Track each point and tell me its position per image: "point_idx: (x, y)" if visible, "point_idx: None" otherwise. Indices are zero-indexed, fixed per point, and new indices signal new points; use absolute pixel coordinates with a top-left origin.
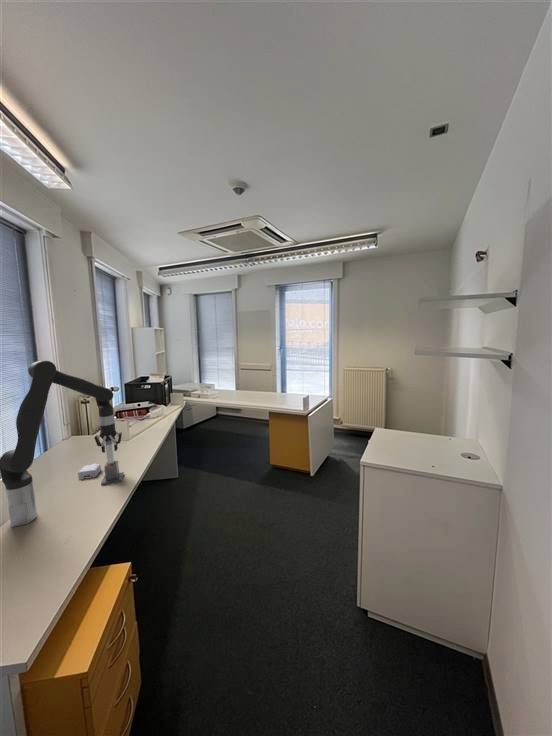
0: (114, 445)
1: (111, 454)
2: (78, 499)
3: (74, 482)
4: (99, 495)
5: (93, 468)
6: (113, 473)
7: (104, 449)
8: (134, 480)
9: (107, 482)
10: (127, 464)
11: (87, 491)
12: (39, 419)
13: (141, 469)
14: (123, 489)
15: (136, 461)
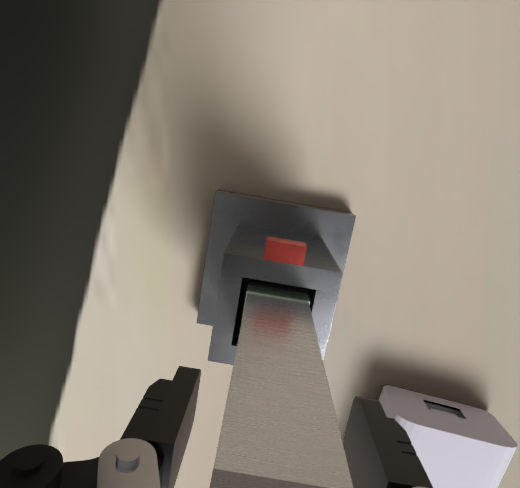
0: (166, 438)
1: (256, 342)
2: (506, 72)
3: (516, 378)
4: (368, 47)
5: None
6: (263, 239)
7: (365, 444)
8: (125, 160)
9: (311, 207)
10: None
11: (443, 173)
12: None
13: (79, 326)
14: (202, 45)
15: None
